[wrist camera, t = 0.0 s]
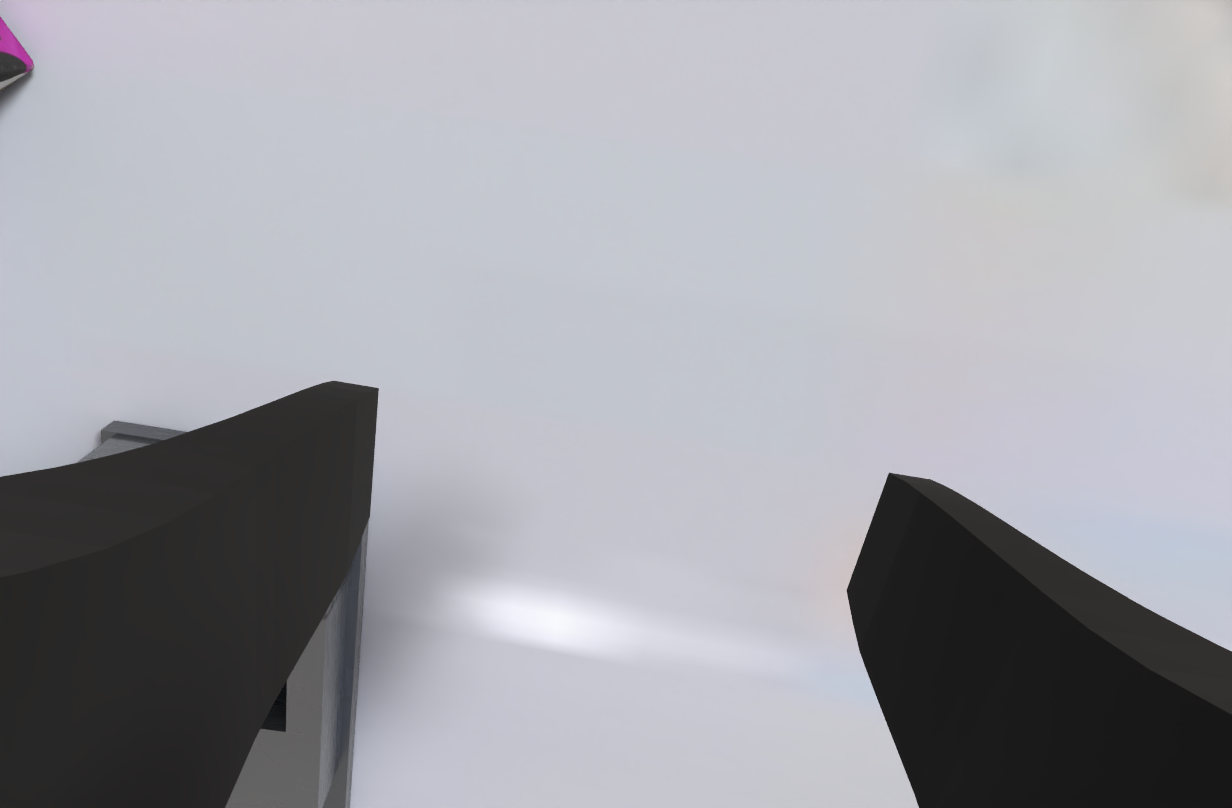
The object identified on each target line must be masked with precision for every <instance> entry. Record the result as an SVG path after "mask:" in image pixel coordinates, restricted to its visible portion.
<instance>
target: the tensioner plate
mask: <svg viewBox="0 0 1232 808" xmlns="http://www.w3.org/2000/svg"><path fill="white" fill-rule="evenodd" d="M184 433H187V432H182V431H176V430H170V429H163V428H157V427H151V426H144V425H138V424H132V423H125V422H119V421H113V422H112V423H110V424H109V425H108V426H106V427H105V428H104V429H102V430H101V434H102V444H101V445H100V446H99V447H97V448H96V449H95V450H93V451H92V452H91V453H89V454H88V455H87V456H86V457H84V458H83V459H82V460H80V461H79V462H83V461H88V460H92V459H96V458H100V457H104V456H109V455H113V454H117V453H121V452H125V451H128V450H132V449H136V448H139V447H143V446H146V445H150V444H153V443H157V442H160V441H163V440H166V439H169V438H172V437H175V436H178V435H181V434H184ZM79 462H78V463H79ZM368 521H369V520H368ZM367 536H368V523H367V525H366V528H365V531H364V533H363V536H362V538H361V541H360V544H359V546H358V549H357V551H356V554H355V556H354V559H353V561H352V564H351V566H350V569H349V571H348V574H347V576H346V577H345V579H344V581H343V583H342V585H341V587H340V588H339V590H338V592H337V594H336V595H335V597H334V599H333V601H332V603H331V604H330V606H329V608H328V610H327V611H326V613H325V615H324V617H323V618H322V620H321V622H320V624H319V625H318V627H317V629H316V631H315V632H314V634H313V636H312V638H311V639H310V641H309V643H308V645H307V646H306V648H305V650H304V651H303V653H302V655H301V657H300V658H299V660H298V662H297V664H296V665H295V667H294V669H293V671H292V672H291V674H290V676H289V678H288V679H287V681H286V683H285V684H284V686H283V688H282V690H281V691H280V693H279V695H278V697H277V698H276V700H275V702H274V704H273V705H272V707H271V709H270V711H269V713H268V715H267V717H266V719H265V721H264V723H263V725H262V727H261V729H260V731H259V733H258V734H257V736H256V739H255V741H254V743H253V745H252V748H251V750H250V752H249V754H248V757H247V759H246V761H245V764H244V766H243V768H242V770H241V773H240V775H239V777H238V780H237V782H236V784H235V786H234V789H233V791H232V793H231V796H230V798H229V800H228V802H227V805H226V807H225V808H350V795H351V779H352V764H353V749H354V734H355V719H356V703H357V688H358V673H359V658H360V643H361V627H362V612H363V597H364V582H365V567H366V551H367Z"/></svg>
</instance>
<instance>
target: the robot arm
mask: <svg viewBox="0 0 1232 808" xmlns="http://www.w3.org/2000/svg"><path fill="white" fill-rule="evenodd" d="M378 390H379V388H374V387H368V386H362V385H356V384H350V383H344V382H338V381H330V382H326V383H322V384H319V385H316V386H313V387H310V388H307V389H304V390H301V391H299V392H296V393H294V394H291V395H288V396H286V397H283V398H281V399H278V400H276V401H273V402H270V403H268V404H265V405H263V406H260V407H257V408H255V409H252V410H249V411H247V412H244V413H242V414H239V415H236V416H234V417H231V418H228V419H226V420H223V421H220V422H217V423H214V424H211V425H208V426H205V427H202V428H199V429H196V430H193V431H190V432H187V433H184V434H181V435H178V436H175V437H172V438H169V439H166V440H163V441H160V442H157V443H153V444H150V445H146V446H143V447H139V448H136V449H132V450H128V451H125V452H121V453H117V454H113V455H109V456H104V457H100V458H96V459H92V460H88V461H83V462H79V463H75V464H70V465H65V466H61V467H56V468H50V469H44V470H38V471H33V472H27V473H21V474H15V475H9V476H3V477H0V808H225V807H226V805H227V802H228V800H229V798H230V796H231V793H232V791H233V789H234V786H235V784H236V782H237V780H238V777H239V775H240V773H241V770H242V768H243V766H244V764H245V761H246V759H247V757H248V754H249V752H250V750H251V748H252V745H253V743H254V741H255V739H256V736H257V734H258V733H259V731H260V729H261V727H262V725H263V723H264V721H265V719H266V717H267V715H268V713H269V711H270V709H271V707H272V705H273V704H274V702H275V700H276V698H277V697H278V695H279V693H280V691H281V690H282V688H283V686H284V684H285V683H286V681H287V679H288V678H289V676H290V674H291V672H292V671H293V669H294V667H295V665H296V664H297V662H298V660H299V658H300V657H301V655H302V653H303V651H304V650H305V648H306V646H307V645H308V643H309V641H310V639H311V638H312V636H313V634H314V632H315V631H316V629H317V627H318V625H319V624H320V622H321V620H322V618H323V617H324V615H325V613H326V611H327V610H328V608H329V606H330V604H331V603H332V601H333V599H334V597H335V595H336V594H337V592H338V590H339V588H340V587H341V585H342V583H343V581H344V579H345V577H346V576H347V574H348V571H349V569H350V566H351V564H352V561H353V559H354V556H355V554H356V551H357V549H358V546H359V544H360V541H361V538H362V536H363V533H364V531H365V528H366V525H367V523H368V520H369V517H370V506H371V492H372V477H373V463H374V448H375V434H376V419H377V405H378ZM847 594H848V600H849V605H850V610H851V615H852V620H853V625H854V629H855V633H856V638H857V642H858V646H859V650H860V653H861V656H862V659H863V662H864V664H865V667H866V670H867V672H868V675H869V678H870V680H871V683H872V686H873V688H874V691H875V694H876V696H877V699H878V702H879V704H880V707H881V709H882V712H883V714H884V717H885V720H886V722H887V725H888V727H889V730H890V732H891V735H892V737H893V740H894V743H895V745H896V748H897V750H898V753H899V755H900V758H901V761H902V763H903V766H904V768H905V771H906V773H907V776H908V779H909V781H910V784H911V786H912V789H913V791H914V794H915V797H916V800H917V803H918V806H919V808H1232V652H1231V651H1229V650H1227V649H1225V648H1223V647H1221V646H1219V645H1217V644H1215V643H1213V642H1211V641H1209V640H1207V639H1205V638H1203V637H1201V636H1199V635H1197V634H1195V633H1193V632H1191V631H1189V630H1187V629H1185V628H1183V627H1181V626H1179V625H1177V624H1175V623H1173V622H1171V621H1170V620H1168V619H1166V618H1164V617H1162V616H1160V615H1158V614H1156V613H1154V612H1152V611H1151V610H1149V609H1147V608H1145V607H1143V606H1141V605H1140V604H1138V603H1136V602H1134V601H1132V600H1131V599H1129V598H1127V597H1126V596H1124V595H1122V594H1120V593H1119V592H1117V591H1115V590H1114V589H1112V588H1110V587H1108V586H1107V585H1105V584H1103V583H1102V582H1100V581H1098V580H1097V579H1095V578H1093V577H1091V576H1090V575H1088V574H1086V573H1085V572H1083V571H1081V570H1080V569H1078V568H1077V567H1075V566H1073V565H1072V564H1070V563H1068V562H1067V561H1065V560H1064V559H1062V558H1060V557H1059V556H1057V555H1056V554H1054V553H1053V552H1051V551H1049V550H1048V549H1046V548H1045V547H1043V546H1041V545H1040V544H1038V543H1037V542H1035V541H1034V540H1032V539H1031V538H1029V537H1027V536H1026V535H1024V534H1023V533H1021V532H1020V531H1018V530H1017V529H1015V528H1013V527H1012V526H1010V525H1009V524H1007V523H1006V522H1004V521H1003V520H1001V519H999V518H998V517H996V516H995V515H993V514H992V513H990V512H988V511H987V510H985V509H984V508H982V507H981V506H979V505H977V504H976V503H974V502H972V501H971V500H969V499H967V498H966V497H964V496H962V495H961V494H959V493H957V492H955V491H953V490H952V489H950V488H948V487H946V486H944V485H942V484H939V483H937V482H935V481H933V480H930V479H924V478H918V477H911V476H905V475H899V474H893V473H889V474H888V477H887V480H886V483H885V486H884V488H883V491H882V494H881V497H880V499H879V502H878V505H877V508H876V510H875V513H874V516H873V519H872V522H871V524H870V527H869V530H868V533H867V535H866V538H865V541H864V544H863V546H862V549H861V552H860V555H859V558H858V560H857V563H856V566H855V569H854V571H853V574H852V577H851V580H850V583H849V585H848V588H847Z"/></svg>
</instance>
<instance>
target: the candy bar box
mask: <svg viewBox="0 0 1232 808" xmlns="http://www.w3.org/2000/svg"><path fill="white" fill-rule="evenodd" d="M34 68H35V67H34V64H33V61H32V59H31V58H30V56H29V55H28V54H27V52H26V51H25V50H24V48H23V47H22V45H21V44H20V43H19V41H18V40H17V39H16V37H15V36H14V34H13V33H12V32H11V30H10V29H9V28H8V26H7V25H6V24H5V22H4V21H3V20H2V18H1V17H0V91H1V90H3V89H5V88H6V87H7V86H9V85H11V84H12V83H13V82H14V81H16V80H17V79H19V78H21V77H22V76H24V75H25V74H27V73H29V72H30V71H32V70H33V69H34Z"/></svg>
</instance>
